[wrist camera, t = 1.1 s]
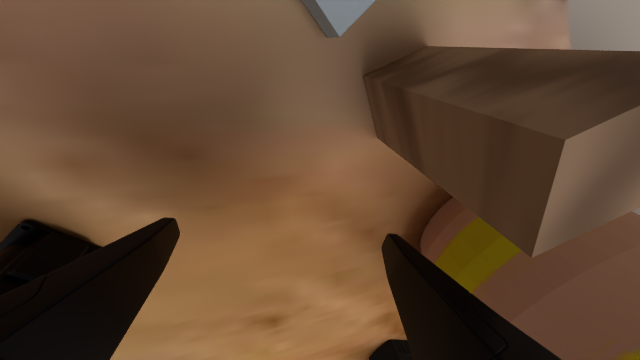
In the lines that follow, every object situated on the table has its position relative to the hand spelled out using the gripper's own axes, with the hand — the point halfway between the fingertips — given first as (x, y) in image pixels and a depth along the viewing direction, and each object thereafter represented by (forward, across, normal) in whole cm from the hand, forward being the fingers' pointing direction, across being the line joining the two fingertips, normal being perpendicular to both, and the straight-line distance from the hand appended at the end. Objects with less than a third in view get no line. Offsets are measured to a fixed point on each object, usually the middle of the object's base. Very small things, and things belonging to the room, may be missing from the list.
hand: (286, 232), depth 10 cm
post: (+14, +9, +3) cm, 17 cm away
